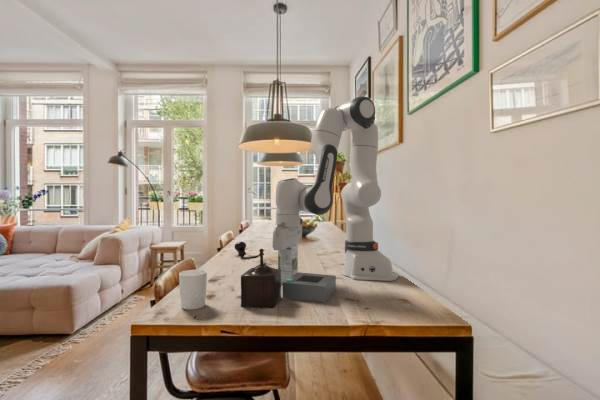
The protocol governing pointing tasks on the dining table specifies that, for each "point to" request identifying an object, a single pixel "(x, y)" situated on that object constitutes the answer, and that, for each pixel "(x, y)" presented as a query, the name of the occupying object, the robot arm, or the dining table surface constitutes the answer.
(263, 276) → the manual coffee grinder
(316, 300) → the port block
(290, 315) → the dining table surface
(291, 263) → the syrup box
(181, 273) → the white cup
